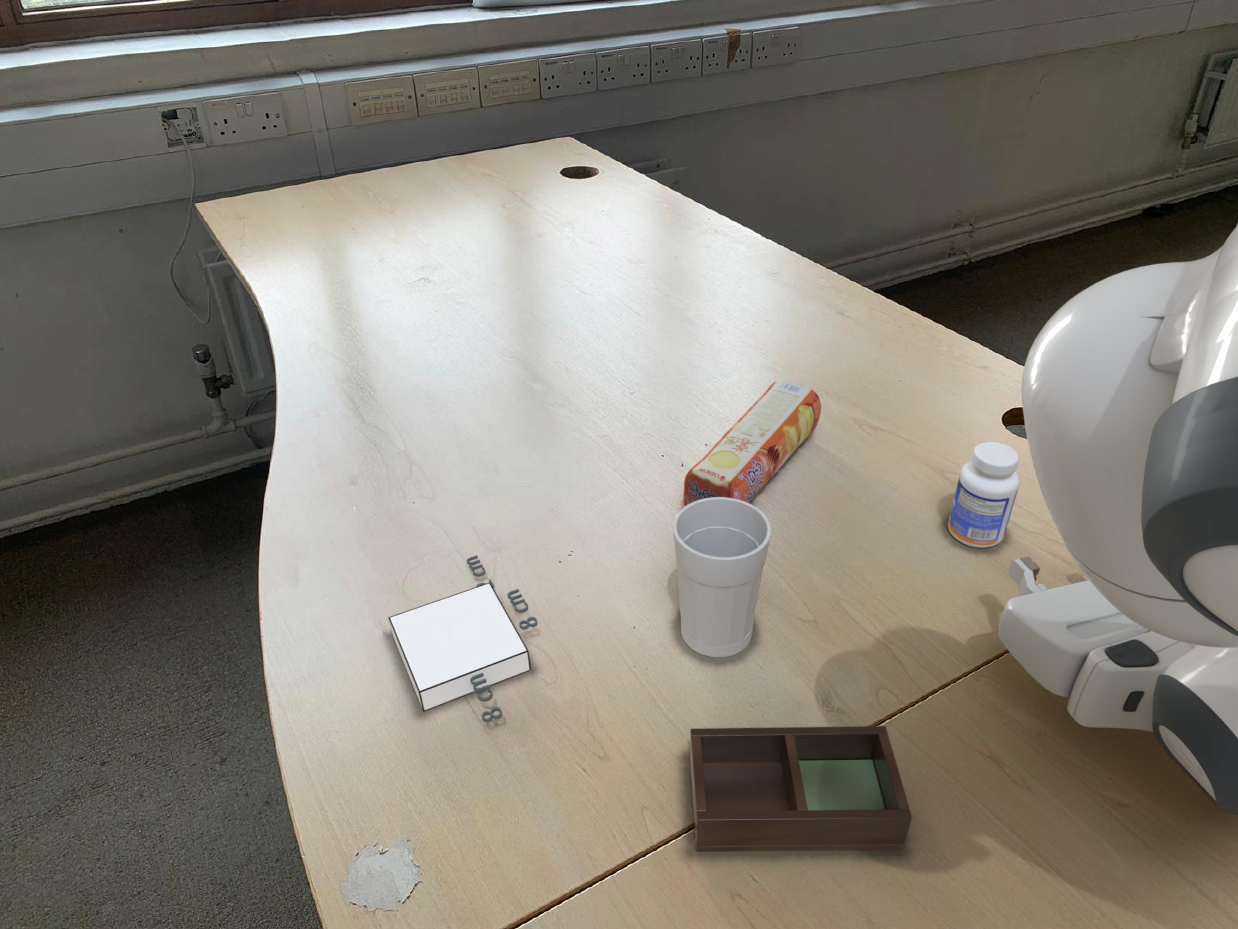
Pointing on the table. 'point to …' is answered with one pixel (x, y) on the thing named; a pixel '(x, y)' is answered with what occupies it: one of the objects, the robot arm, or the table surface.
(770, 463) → the snack package
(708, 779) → the tray
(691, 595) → the cup
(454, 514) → the table surface
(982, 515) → the pill bottle
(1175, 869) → the table surface
